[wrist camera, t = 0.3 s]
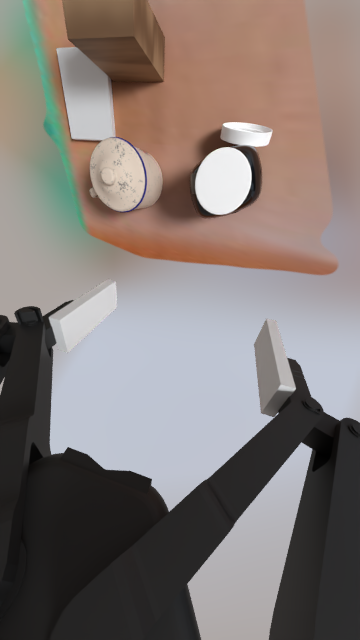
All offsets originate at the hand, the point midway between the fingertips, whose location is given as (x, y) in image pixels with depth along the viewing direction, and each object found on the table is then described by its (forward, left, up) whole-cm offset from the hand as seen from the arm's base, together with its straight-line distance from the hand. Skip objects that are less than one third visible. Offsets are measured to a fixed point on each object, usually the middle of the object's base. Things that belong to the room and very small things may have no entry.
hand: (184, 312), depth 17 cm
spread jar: (-12, 0, -27) cm, 30 cm away
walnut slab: (-24, -16, -27) cm, 39 cm away
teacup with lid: (-9, -17, -27) cm, 33 cm away
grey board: (-20, -24, -27) cm, 41 cm away
